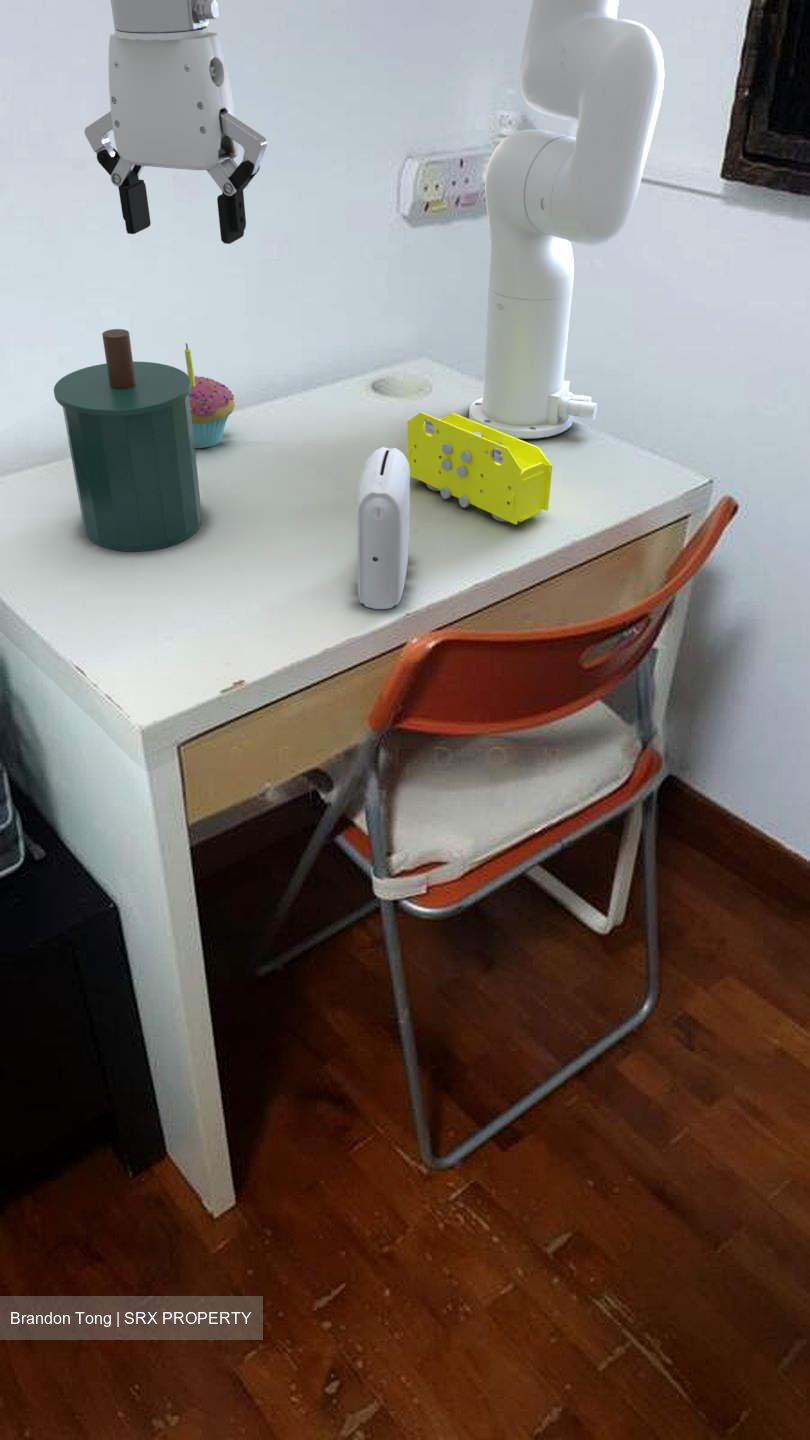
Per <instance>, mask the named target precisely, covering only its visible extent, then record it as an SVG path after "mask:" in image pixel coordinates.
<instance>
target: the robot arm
mask: <svg viewBox="0 0 810 1440" xmlns="http://www.w3.org/2000/svg"><path fill="white" fill-rule="evenodd" d="M619 2H620V0H532V3H531V7H530V13H529V18H528V23H527V29H526V32H525V33H526V34H525V39H524V43H523V49H522V55H521V59H520V60H521V61H520V66H519V75H518V77H519V78H518V79H519V80H518V81H519V82H518V83H519V90H520V94H521V97H522V99H523V100H524V102H525V103H526V104H527V106H529V107H530V108H531V109H533V110H534V111H536V112H538V113H540V114H543V115H544V116H548V117H552V118H555V119H559V120H563V121H567V122H573V123H577V128H576V134H575V137H574V136H571V135H566V134H563V133H559V132H554V131H550V130H546V129H536V128H530V129H522V130H518V131H515V132H513V133H511V134H509V135H507V136H505V137H504V138H503V139H502V140H501V141H500V142H499V143H498V144H497V146H496V147H495V149H494V150H493V151H492V153H491V155H490V157H489V160H488V163H487V167H486V169H485V178H484V179H485V180H484V197H485V206H486V213H487V220H488V229H489V271H488V272H489V275H488V287H487V288H488V291H487V308H486V309H487V311H486V325H485V327H486V328H485V329H486V331H485V344H484V346H485V347H484V365H483V367H484V368H483V383H482V396H481V397H480V398H477V399H476V400H475V401H473V402H472V403H471V404H470V405H469V410H468V419H470V420H473V421H475V422H477V423H480V424H482V425H485V426H487V427H490V428H492V429H495V430H497V431H500V432H502V433H505V434H507V435H510V436H512V437H515V438H517V439H520V440H525V439H526V440H529V439H531V440H532V439H543V438H549V437H553V436H556V435H559V434H561V433H563V432H566V431H567V430H568V429H569V428H570V427H571V426H572V424H573V422H574V417H577V418H580V419H584V420H586V419H587V420H593V421H594V420H595V419H596V416H597V412H598V402H592V400H593V399H592V396H587V395H577V394H574V392H572V391H570V386H571V381H570V380H565V374H566V373H565V372H566V361H567V352H568V351H567V350H568V339H569V330H570V329H569V328H570V320H571V319H570V318H571V311H572V299H573V290H574V282H575V281H574V279H575V260H574V253H573V247H572V244H577V245H581V246H584V247H585V246H586V247H596V246H600V245H605V244H606V243H608V242H610V241H611V240H612V239H614V238H615V237H616V236H618V234H619V233H620V232H621V231H622V229H623V228H624V226H625V225H626V223H627V221H628V219H629V218H630V215H631V213H632V211H633V208H634V205H635V202H636V200H637V196H638V193H639V191H640V190H639V189H640V186H641V181H642V177H643V174H644V170H645V166H646V162H647V158H648V154H649V152H650V151H649V150H650V147H651V143H652V138H653V134H654V131H655V128H656V127H655V126H656V122H657V118H658V114H659V112H660V111H659V110H660V106H661V101H662V96H663V91H664V85H665V84H664V82H665V80H664V79H665V67H664V58H663V52H662V48H661V46H660V44H659V42H658V39H657V38H656V36H655V35H654V33H653V32H652V31H651V30H650V29H648V27H647V26H645V25H643V24H641V23H639V22H637V21H634V20H632V19H625V18H620V17H619V18H618V17H617V13H618V7H619ZM110 5H111V12H112V19H113V28H114V32H113V33H111V34H109V42H108V67H107V68H108V91H109V104H110V105H109V106H110V111H108V112H107V113H106V114H104V115H102V117H100V118H98V119H97V120H95V121H93V122H92V123H91V124H89V125H88V126H86V127H85V129H84V136H85V137H86V139H87V141H88V143H89V145H90V146H91V148H92V151H93V152H94V153H95V154H96V160H97V162H98V163H99V164H100V166H101V167H102V168H103V169H104V170H105V171H106V173H107V174H108V175H109V176H110V181H111V183H112V184H113V186H115V187H118V193H119V201H120V208H121V214H122V219H123V220H124V223H125V224H124V225H125V230H126V233H127V234H128V235H135V234H138V233H139V232H142V231H143V230H146V229H147V228H149V227H150V226H151V224H152V223H151V216H150V209H149V208H150V207H149V200H148V193H147V186H146V183H145V180H144V179H139V176H140V175H141V173H142V171H143V169H144V167H149V168H150V167H151V168H163V169H173V170H175V169H176V170H187V171H206V172H207V173H208V175H210V177H211V178H212V179H213V181H214V183H216V185H217V186H218V188H219V189H220V190H221V194H219V195H218V196H217V199H216V201H217V212H218V213H217V214H218V222H219V230H220V240H221V242H222V243H223V244H225V245H231V244H232V243H234V242H236V241H238V240H240V239H242V238H243V237H244V235H245V230H246V227H247V218H246V208H245V196H244V190H246V189H247V188H248V187H249V184H250V182H251V181H252V180H253V179H254V177H255V176H256V175H257V173H258V172H259V171H260V169H261V168H260V164H261V163H262V161H263V158H264V155H265V153H266V150H267V147H268V140H267V138H266V137H265V136H263V135H262V134H261V133H260V132H258V131H256V130H254V129H253V128H251V127H250V126H248V124H246V123H244V122H243V121H241V120H240V119H238V118H236V110H235V105H234V100H233V92H232V88H231V83H230V82H231V81H230V77H229V73H228V68H227V64H226V63H227V62H226V60H225V56H224V52H223V49H222V45H221V41H220V39H219V38H220V37H219V36H218V33H216V32H208V31H209V30H208V27H209V25H210V24H209V23H210V22H209V21H210V20H217V19H219V15H220V7H219V6H220V5H219V3H218V1H217V0H110ZM112 132H113V138H114V143H115V147H116V149H115V148H114V147H113V146H112V142H111V140H110V136H109V135H110V134H111V133H112ZM239 145H240V146H241V147H242V148H243V152H244V153H243V156H242V157H243V158H242V160H241V162H240V163H239V165H238V164H237V162H236V161H235V158H237V156H238V154H239Z"/></svg>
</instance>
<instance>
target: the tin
mask: <svg viewBox="0 0 810 1440" xmlns="http://www.w3.org/2000/svg"><path fill="white" fill-rule="evenodd" d="M62 409H63V410H62V411H63V417H64V421H65V422H64V423H65V429H66V434H67V440H68V445H69V451H70V457H71V461H72V462H71V463H72V468H73V469H72V470H73V474H74V480H75V485H76V492H77V498H78V503H79V508H80V514H81V520H82V525H83V527H84V533H85V535H86V537H87V538H88V539H89V540H90V541H91V542H92V543H93V544H95V545H98V546H100V547H102V548H104V549H109V550H113V551H119V552H148V551H155V550H156V551H157V550H161V549H165V548H170V547H173V546H175V545H177V544H180V543H182V542H184V541H186V540H188V539H189V538H191V537H192V536H193V535H195V534H196V533H197V532H198V530H199V529H200V527H201V525H202V516H203V515H202V513H203V512H202V505H201V504H202V503H201V495H200V485H199V476H198V467H197V457H196V448H195V446H194V436H193V427H192V417H191V408H190V398H189V395H188V396H187V397H186V398H184V399H183V400H182V401H180V402H178V403H176V404H174V405H172V406H170V407H167V408H164V409H161V410H157V411H153V412H148V413H143V414H137V415H127V416H98V415H89V414H83V413H79V412H75V411H72V410H69V409H67V408H65V407H63V406H62Z"/></svg>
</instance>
